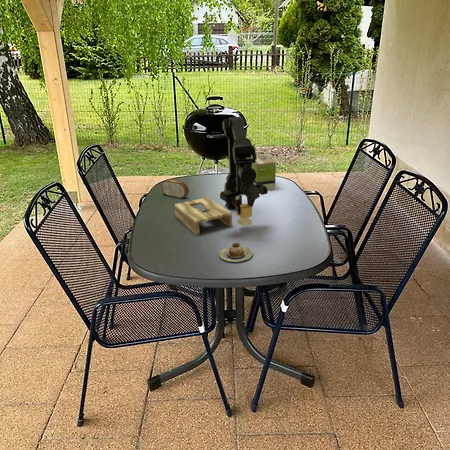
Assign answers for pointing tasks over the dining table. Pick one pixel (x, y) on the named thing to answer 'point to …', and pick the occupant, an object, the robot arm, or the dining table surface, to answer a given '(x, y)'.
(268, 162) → the tea box
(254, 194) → the robot arm
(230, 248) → the pastry
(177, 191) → the tin
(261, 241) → the dining table surface
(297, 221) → the dining table surface
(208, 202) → the keyhole board
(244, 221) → the mustard yellow block
